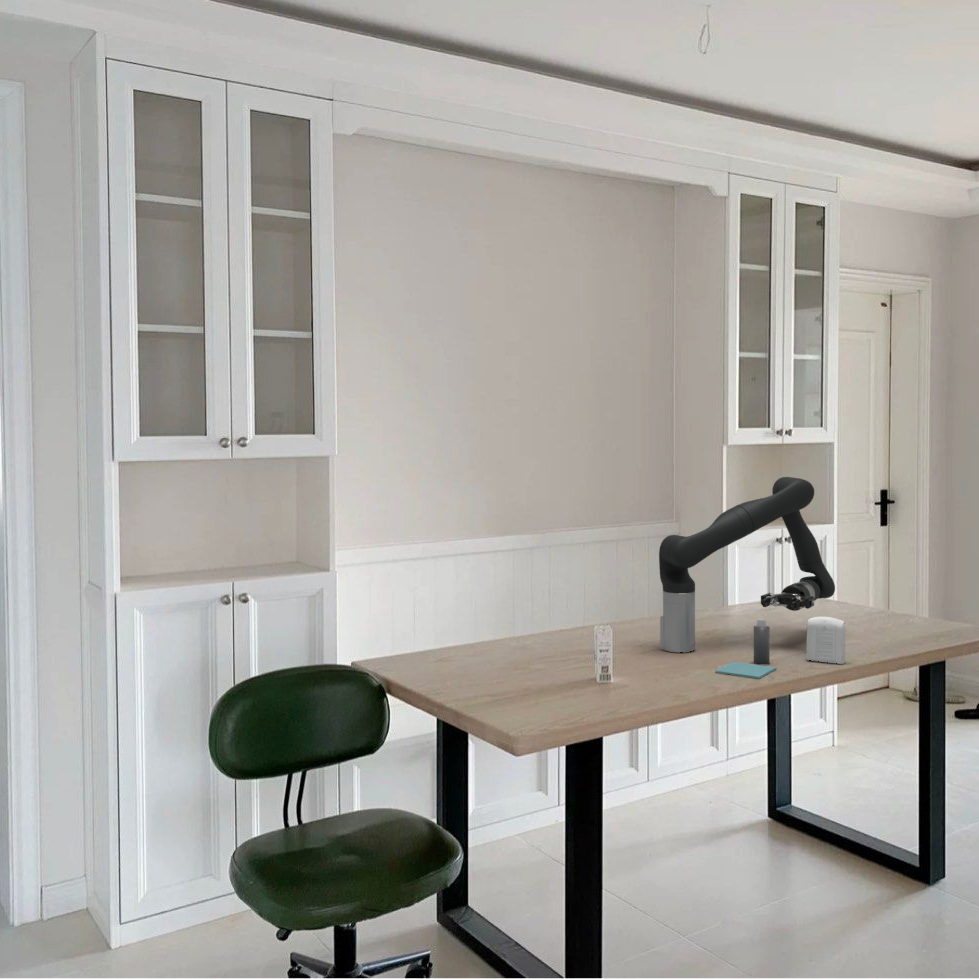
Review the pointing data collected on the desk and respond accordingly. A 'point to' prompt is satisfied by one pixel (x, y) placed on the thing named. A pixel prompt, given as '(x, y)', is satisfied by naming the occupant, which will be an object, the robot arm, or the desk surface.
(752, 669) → the teal mat
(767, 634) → the grey capped bottle
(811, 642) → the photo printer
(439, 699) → the desk surface
